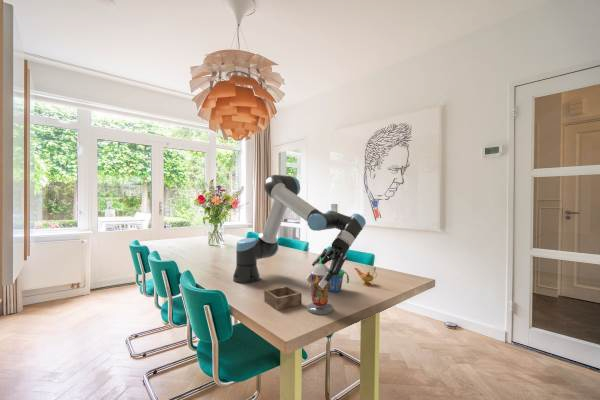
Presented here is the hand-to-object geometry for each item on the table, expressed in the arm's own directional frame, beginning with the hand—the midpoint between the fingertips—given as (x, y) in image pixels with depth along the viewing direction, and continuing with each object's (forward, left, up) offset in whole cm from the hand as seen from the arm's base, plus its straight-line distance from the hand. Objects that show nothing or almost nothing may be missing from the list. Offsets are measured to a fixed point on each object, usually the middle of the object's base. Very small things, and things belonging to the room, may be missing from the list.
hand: (313, 283), depth 118 cm
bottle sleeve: (-14, +8, -12) cm, 20 cm away
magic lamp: (+28, +41, -12) cm, 51 cm away
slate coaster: (+3, +2, -12) cm, 12 cm away
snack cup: (+10, +28, -12) cm, 32 cm away
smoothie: (+3, +2, -9) cm, 10 cm away
